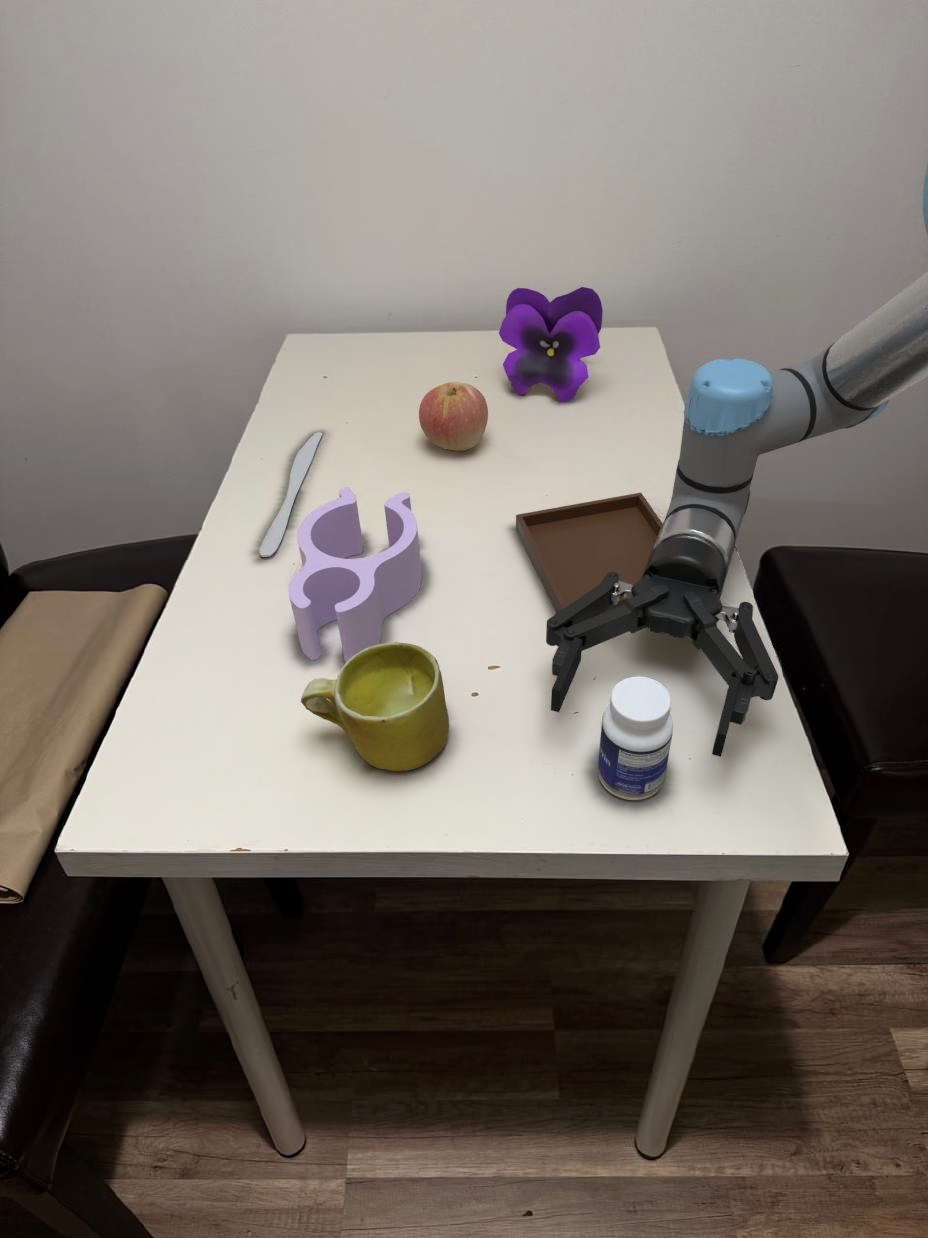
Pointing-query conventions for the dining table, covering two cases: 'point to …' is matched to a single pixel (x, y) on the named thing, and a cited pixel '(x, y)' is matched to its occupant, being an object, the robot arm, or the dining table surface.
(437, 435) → the apple
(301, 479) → the butter knife
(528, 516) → the brown square tray
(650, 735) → the pill bottle
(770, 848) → the dining table surface
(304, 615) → the clip
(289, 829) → the dining table surface
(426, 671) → the mug
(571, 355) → the flower
